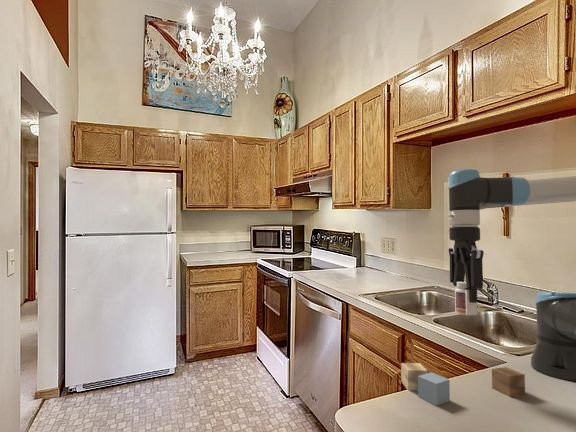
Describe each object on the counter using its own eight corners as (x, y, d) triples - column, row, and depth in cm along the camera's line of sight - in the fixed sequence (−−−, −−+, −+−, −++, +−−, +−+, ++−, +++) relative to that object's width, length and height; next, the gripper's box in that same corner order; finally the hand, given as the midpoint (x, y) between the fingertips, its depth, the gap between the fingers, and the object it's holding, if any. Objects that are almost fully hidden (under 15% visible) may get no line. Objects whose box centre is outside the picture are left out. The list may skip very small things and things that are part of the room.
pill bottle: (477, 316, 90) (477, 283, 91) (458, 314, 91) (457, 283, 92) (471, 312, 95) (471, 281, 95) (453, 311, 96) (453, 280, 96)
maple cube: (419, 382, 92) (419, 363, 93) (427, 390, 87) (427, 370, 88) (401, 382, 92) (401, 363, 92) (408, 390, 87) (408, 370, 88)
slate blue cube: (431, 392, 86) (431, 372, 87) (449, 400, 82) (449, 379, 82) (418, 397, 84) (418, 376, 84) (436, 406, 79) (436, 383, 80)
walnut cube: (507, 386, 90) (506, 367, 91) (525, 394, 86) (524, 374, 86) (492, 388, 89) (491, 368, 89) (509, 397, 84) (509, 376, 85)
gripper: (436, 226, 103) (437, 305, 102) (468, 225, 86) (470, 320, 84) (460, 227, 103) (462, 305, 102) (498, 225, 86) (500, 320, 84)
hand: (465, 312), depth 93 cm, fingers closed on pill bottle, 5 cm apart
